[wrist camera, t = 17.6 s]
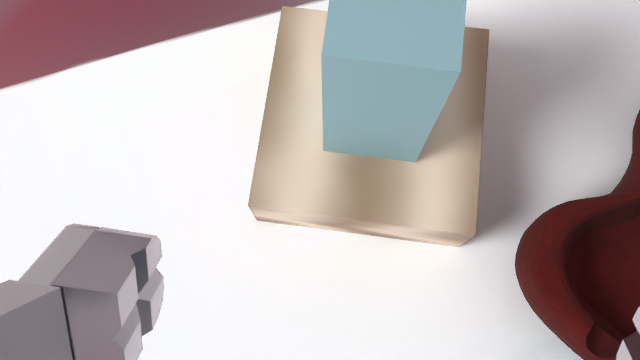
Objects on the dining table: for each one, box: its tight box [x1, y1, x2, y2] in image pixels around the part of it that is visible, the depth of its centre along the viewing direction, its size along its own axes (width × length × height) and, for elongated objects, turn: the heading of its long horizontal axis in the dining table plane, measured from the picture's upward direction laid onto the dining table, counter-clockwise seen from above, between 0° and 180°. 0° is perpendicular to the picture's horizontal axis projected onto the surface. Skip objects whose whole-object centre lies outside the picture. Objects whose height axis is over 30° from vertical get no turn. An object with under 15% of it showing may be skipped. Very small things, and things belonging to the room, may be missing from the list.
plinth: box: [248, 6, 489, 247], centre depth 34 cm, size 12×12×4 cm
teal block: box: [321, 0, 466, 162], centre depth 27 cm, size 5×5×11 cm
